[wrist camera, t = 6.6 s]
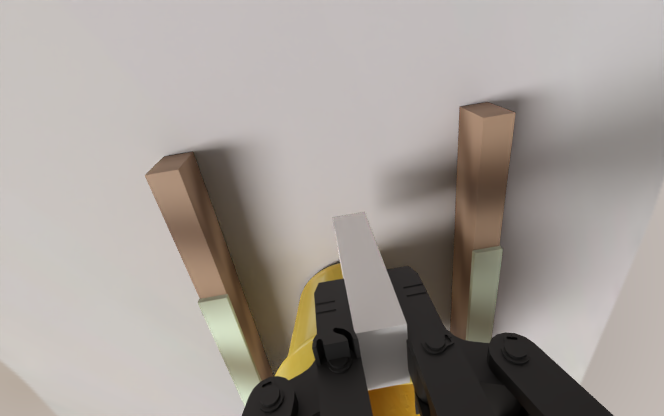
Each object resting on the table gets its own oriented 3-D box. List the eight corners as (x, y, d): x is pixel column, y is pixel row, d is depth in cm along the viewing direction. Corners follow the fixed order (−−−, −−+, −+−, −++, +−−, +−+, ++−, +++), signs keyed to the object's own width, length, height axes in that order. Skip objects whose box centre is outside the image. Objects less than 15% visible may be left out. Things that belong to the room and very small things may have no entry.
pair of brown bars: (162, 156, 17) (140, 178, 15) (488, 101, 17) (520, 113, 15) (255, 384, 26) (251, 421, 24) (468, 345, 27) (486, 377, 24)
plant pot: (450, 296, 24) (540, 444, 15) (341, 368, 26) (366, 532, 18) (362, 203, 20) (419, 339, 11) (240, 300, 22) (209, 474, 13)
